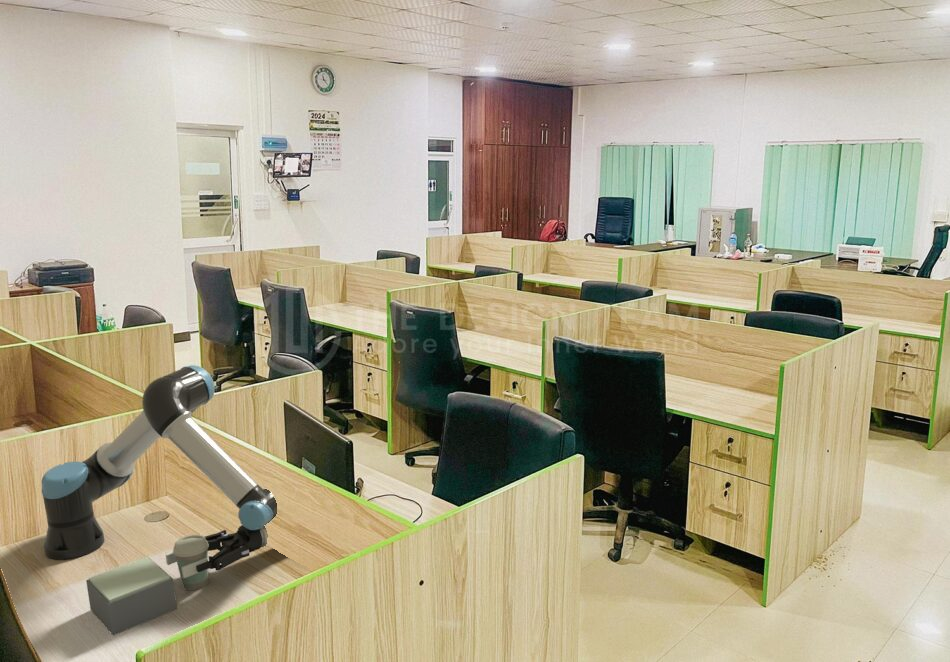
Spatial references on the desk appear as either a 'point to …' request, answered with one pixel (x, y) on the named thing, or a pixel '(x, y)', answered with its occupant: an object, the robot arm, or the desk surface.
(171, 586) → the block
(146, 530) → the desk surface
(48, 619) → the desk surface
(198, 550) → the coffee cup
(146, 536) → the desk surface
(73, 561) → the desk surface
